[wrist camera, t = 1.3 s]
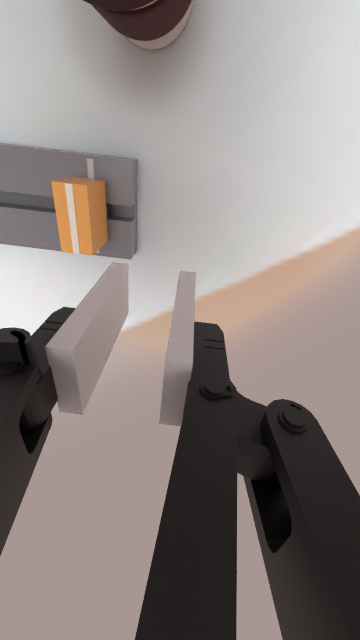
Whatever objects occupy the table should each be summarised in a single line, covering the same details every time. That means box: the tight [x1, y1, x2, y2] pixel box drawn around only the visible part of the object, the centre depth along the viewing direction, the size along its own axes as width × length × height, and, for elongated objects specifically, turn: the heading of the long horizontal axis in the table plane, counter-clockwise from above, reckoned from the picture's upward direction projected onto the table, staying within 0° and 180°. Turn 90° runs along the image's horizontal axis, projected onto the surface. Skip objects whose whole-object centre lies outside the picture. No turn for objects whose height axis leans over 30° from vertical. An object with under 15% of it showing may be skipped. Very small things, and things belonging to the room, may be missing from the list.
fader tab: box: [51, 177, 109, 255], centre depth 26 cm, size 6×3×7 cm, turn 174°
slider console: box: [0, 143, 137, 259], centre depth 29 cm, size 10×24×3 cm, turn 84°
